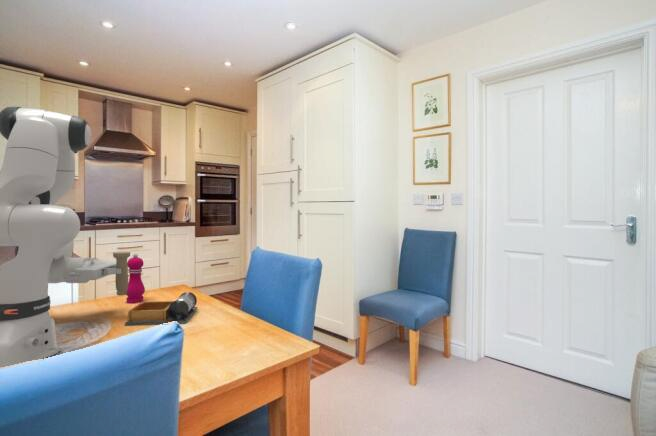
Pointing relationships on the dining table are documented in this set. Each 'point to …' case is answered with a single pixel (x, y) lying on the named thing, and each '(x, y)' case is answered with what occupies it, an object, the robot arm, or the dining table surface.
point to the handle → (123, 277)
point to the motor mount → (163, 311)
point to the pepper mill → (135, 280)
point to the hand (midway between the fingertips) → (124, 269)
